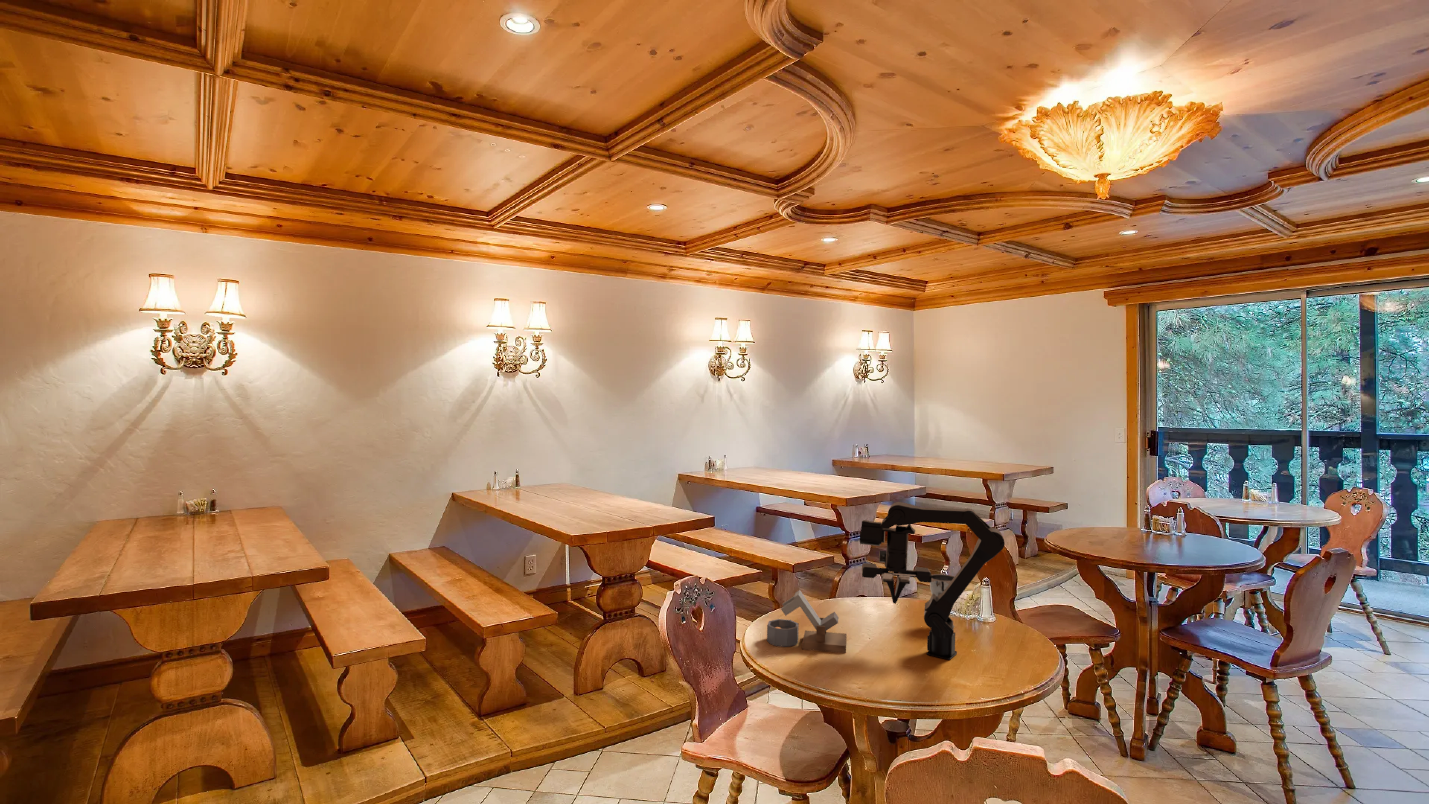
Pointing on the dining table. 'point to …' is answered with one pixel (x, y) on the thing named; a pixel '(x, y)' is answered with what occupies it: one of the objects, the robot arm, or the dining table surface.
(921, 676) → the dining table surface
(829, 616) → the lever
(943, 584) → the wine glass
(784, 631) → the cup
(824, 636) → the base
